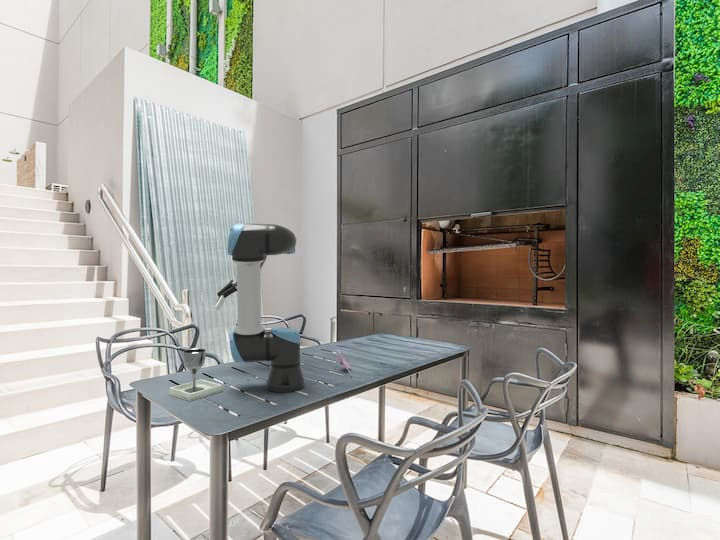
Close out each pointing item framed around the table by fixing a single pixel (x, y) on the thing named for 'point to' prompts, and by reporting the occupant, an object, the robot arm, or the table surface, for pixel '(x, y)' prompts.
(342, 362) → the lily
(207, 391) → the white tray
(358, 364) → the table surface
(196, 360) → the wine glass
